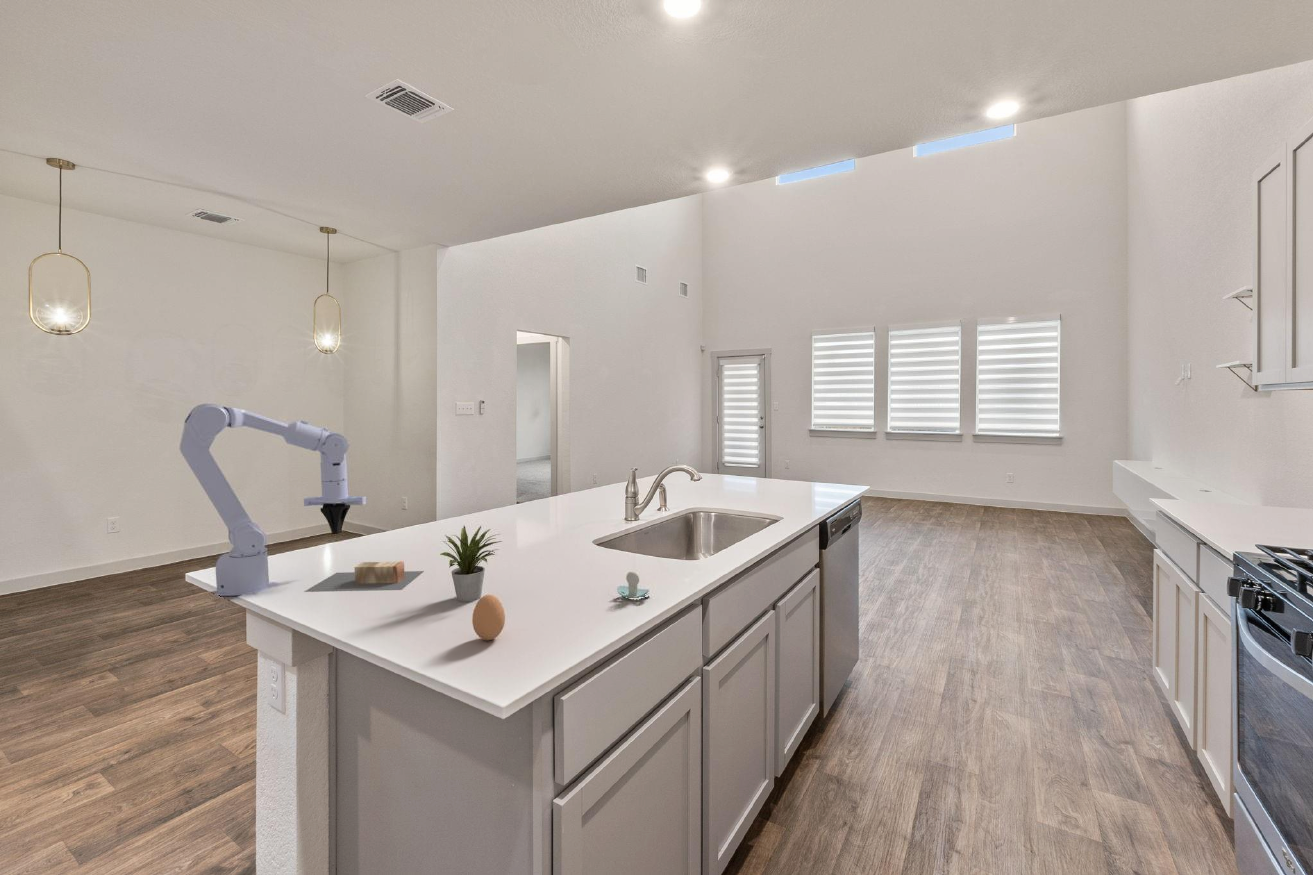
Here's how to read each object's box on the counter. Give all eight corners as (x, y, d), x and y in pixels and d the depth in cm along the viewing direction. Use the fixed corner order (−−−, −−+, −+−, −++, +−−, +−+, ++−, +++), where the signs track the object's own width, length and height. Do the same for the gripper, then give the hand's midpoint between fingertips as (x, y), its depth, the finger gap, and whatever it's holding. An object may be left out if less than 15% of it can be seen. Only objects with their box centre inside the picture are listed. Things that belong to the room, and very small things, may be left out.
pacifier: (626, 591, 129) (614, 599, 124) (626, 564, 129) (614, 571, 123) (655, 596, 126) (644, 604, 121) (655, 568, 126) (644, 575, 121)
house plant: (480, 613, 116) (478, 535, 115) (420, 609, 119) (417, 533, 117) (512, 590, 130) (510, 520, 129) (457, 587, 132) (455, 518, 131)
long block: (354, 567, 134) (397, 566, 134) (362, 562, 138) (404, 561, 138) (355, 583, 134) (397, 582, 134) (363, 578, 138) (404, 577, 138)
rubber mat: (304, 593, 129) (304, 591, 129) (336, 574, 143) (336, 572, 143) (401, 591, 130) (401, 589, 129) (424, 572, 143) (424, 571, 143)
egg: (511, 638, 104) (510, 594, 103) (483, 649, 99) (482, 603, 99) (494, 630, 108) (493, 587, 107) (466, 639, 103) (465, 595, 103)
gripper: (370, 477, 146) (373, 529, 147) (314, 478, 146) (316, 529, 147) (357, 481, 139) (359, 535, 140) (297, 482, 139) (300, 536, 140)
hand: (336, 533), depth 143 cm, fingers closed
